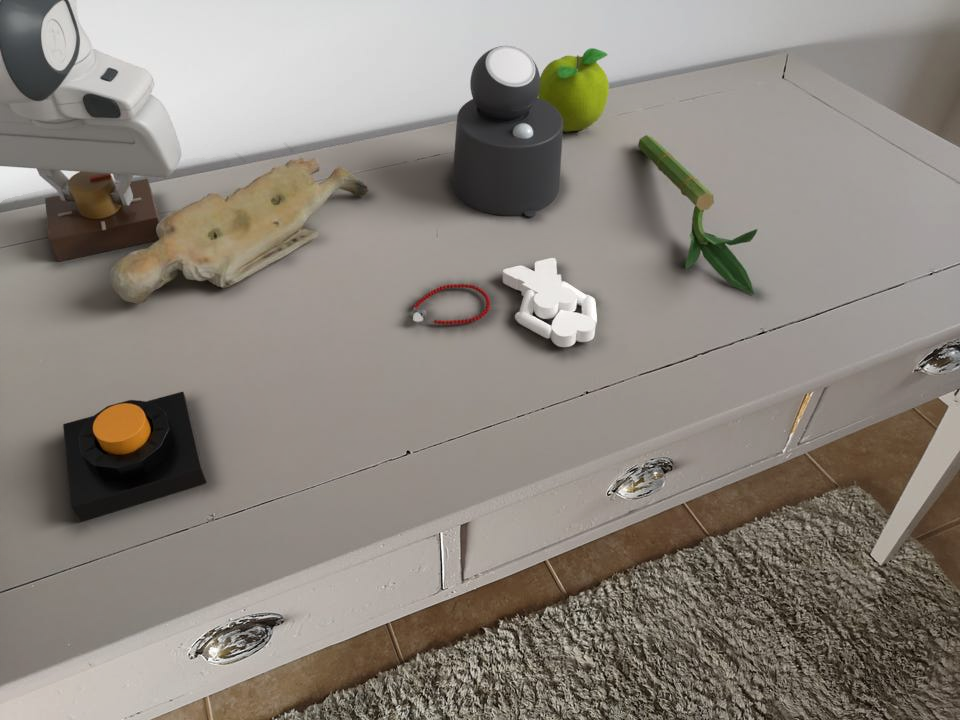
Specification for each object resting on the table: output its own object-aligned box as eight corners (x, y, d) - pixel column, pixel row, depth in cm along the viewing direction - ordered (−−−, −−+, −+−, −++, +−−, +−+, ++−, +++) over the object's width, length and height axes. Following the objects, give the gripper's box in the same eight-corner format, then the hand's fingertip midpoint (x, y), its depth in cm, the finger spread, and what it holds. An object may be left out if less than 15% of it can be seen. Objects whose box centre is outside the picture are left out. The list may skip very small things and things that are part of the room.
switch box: (80, 522, 62) (62, 495, 59) (71, 439, 68) (54, 410, 65) (207, 483, 65) (195, 455, 62) (189, 406, 71) (178, 377, 68)
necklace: (417, 335, 78) (417, 328, 77) (401, 297, 82) (400, 289, 81) (498, 317, 80) (498, 310, 79) (478, 280, 84) (479, 273, 83)
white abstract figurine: (538, 355, 76) (539, 338, 75) (491, 288, 84) (491, 272, 83) (617, 333, 79) (620, 316, 77) (564, 270, 87) (565, 254, 86)
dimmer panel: (59, 263, 84) (48, 240, 81) (54, 218, 89) (43, 195, 87) (165, 240, 87) (157, 217, 84) (154, 198, 92) (146, 175, 90)
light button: (102, 461, 62) (95, 448, 61) (97, 424, 65) (90, 411, 63) (154, 446, 63) (148, 433, 62) (147, 410, 66) (141, 397, 65)
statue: (315, 150, 95) (104, 294, 82) (317, 109, 89) (89, 258, 75) (375, 204, 94) (171, 359, 80) (382, 167, 87) (161, 328, 74)
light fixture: (486, 103, 78) (435, 42, 87) (480, 230, 90) (436, 165, 99) (601, 81, 82) (541, 25, 91) (581, 206, 94) (530, 145, 103)
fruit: (616, 128, 107) (629, 58, 99) (568, 151, 102) (578, 79, 95) (569, 101, 111) (578, 32, 104) (521, 122, 107) (527, 51, 100)
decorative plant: (675, 131, 102) (790, 231, 78) (658, 190, 107) (760, 302, 83) (632, 127, 101) (735, 227, 77) (616, 187, 105) (709, 299, 81)
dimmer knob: (81, 223, 84) (68, 193, 81) (76, 200, 86) (64, 171, 83) (124, 213, 85) (113, 184, 82) (118, 191, 88) (107, 162, 85)
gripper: (-72, 90, 73) (-10, 210, 83) (145, 105, 73) (180, 224, 83) (-38, 58, 77) (17, 176, 87) (167, 73, 77) (198, 189, 87)
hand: (98, 200), depth 85 cm, fingers closed on dimmer knob, 4 cm apart
